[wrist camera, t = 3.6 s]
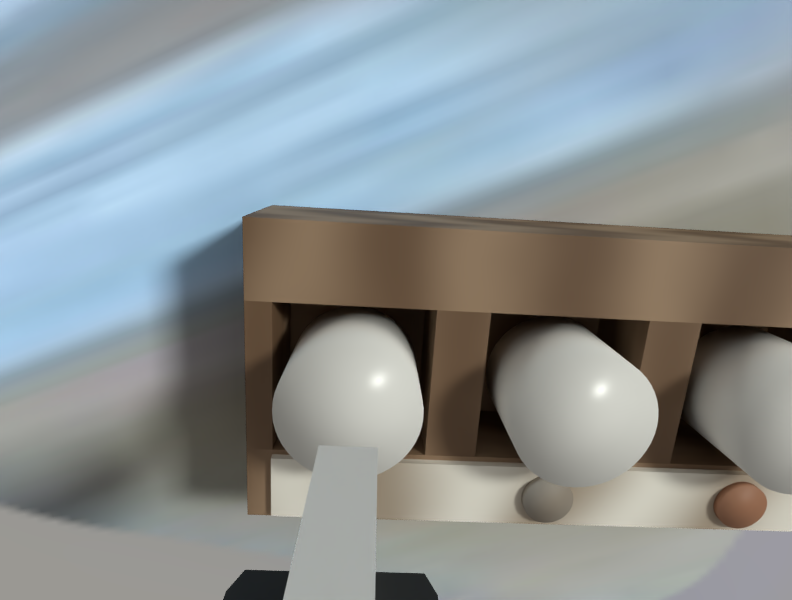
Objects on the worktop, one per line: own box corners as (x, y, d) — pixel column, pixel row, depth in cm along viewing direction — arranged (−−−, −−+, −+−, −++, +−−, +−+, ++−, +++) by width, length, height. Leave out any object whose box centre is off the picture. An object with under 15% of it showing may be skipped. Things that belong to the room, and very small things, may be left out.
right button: (660, 430, 22) (725, 492, 18) (684, 322, 21) (760, 361, 17) (770, 435, 22) (859, 496, 18) (799, 327, 21) (903, 368, 17)
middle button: (479, 423, 22) (503, 484, 18) (492, 312, 20) (521, 350, 16) (593, 427, 22) (643, 489, 18) (613, 318, 21) (672, 357, 16)
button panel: (272, 447, 25) (243, 524, 20) (272, 205, 22) (237, 218, 17) (734, 464, 26) (826, 541, 21) (795, 236, 23) (922, 257, 18)
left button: (293, 416, 21) (272, 477, 17) (294, 302, 20) (271, 338, 16) (410, 420, 22) (418, 482, 17) (418, 309, 20) (429, 346, 16)
